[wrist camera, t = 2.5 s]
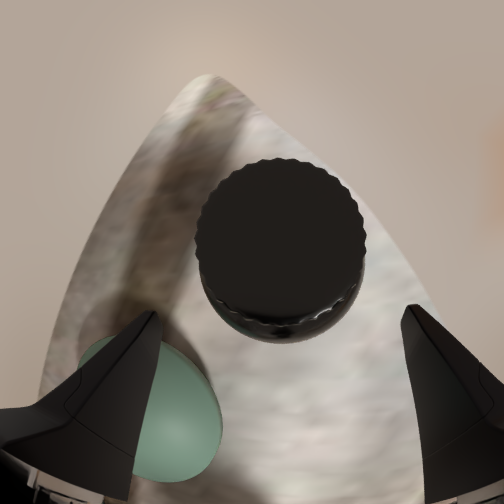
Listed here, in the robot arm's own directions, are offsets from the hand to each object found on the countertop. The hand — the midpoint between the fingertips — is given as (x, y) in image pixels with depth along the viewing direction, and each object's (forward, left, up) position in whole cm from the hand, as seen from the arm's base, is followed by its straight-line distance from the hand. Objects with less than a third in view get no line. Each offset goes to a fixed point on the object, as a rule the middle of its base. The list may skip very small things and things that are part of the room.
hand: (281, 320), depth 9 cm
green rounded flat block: (-7, +11, -10) cm, 16 cm away
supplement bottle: (+2, 0, -10) cm, 10 cm away
